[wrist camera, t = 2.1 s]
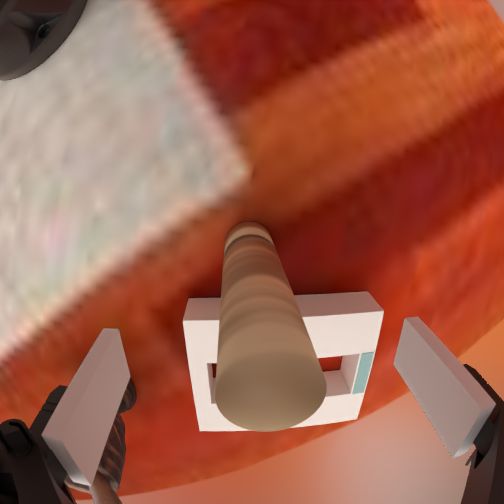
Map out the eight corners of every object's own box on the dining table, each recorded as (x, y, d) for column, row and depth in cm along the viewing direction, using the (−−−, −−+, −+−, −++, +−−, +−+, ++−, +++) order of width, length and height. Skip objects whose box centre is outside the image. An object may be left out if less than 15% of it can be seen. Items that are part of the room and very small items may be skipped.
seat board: (188, 298, 29) (182, 321, 25) (367, 291, 30) (384, 311, 26) (201, 405, 33) (199, 431, 30) (347, 395, 34) (357, 419, 30)
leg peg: (224, 221, 27) (211, 356, 10) (272, 220, 27) (333, 349, 10) (225, 266, 28) (219, 433, 11) (271, 265, 28) (319, 426, 11)
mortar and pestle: (134, 338, 30) (67, 512, 11) (179, 395, 33) (156, 558, 14) (62, 367, 31) (-9, 499, 12) (106, 416, 34) (64, 547, 15)
